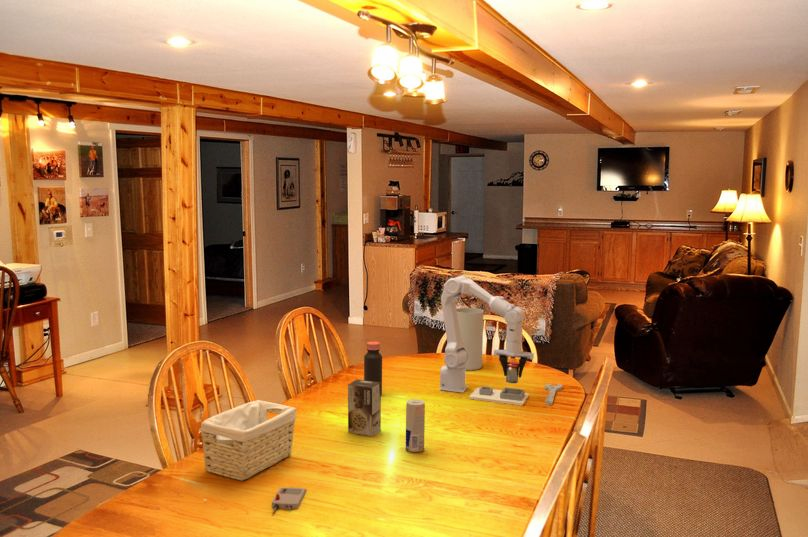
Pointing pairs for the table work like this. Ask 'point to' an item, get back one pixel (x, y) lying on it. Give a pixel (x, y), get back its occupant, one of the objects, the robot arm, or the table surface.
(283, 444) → the storage basket
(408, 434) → the beverage can
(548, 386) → the adjustable wrench
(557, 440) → the table surface
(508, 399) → the socket board
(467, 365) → the cylinder vase
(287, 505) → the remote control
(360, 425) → the coffee box
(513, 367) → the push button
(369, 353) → the bottle
